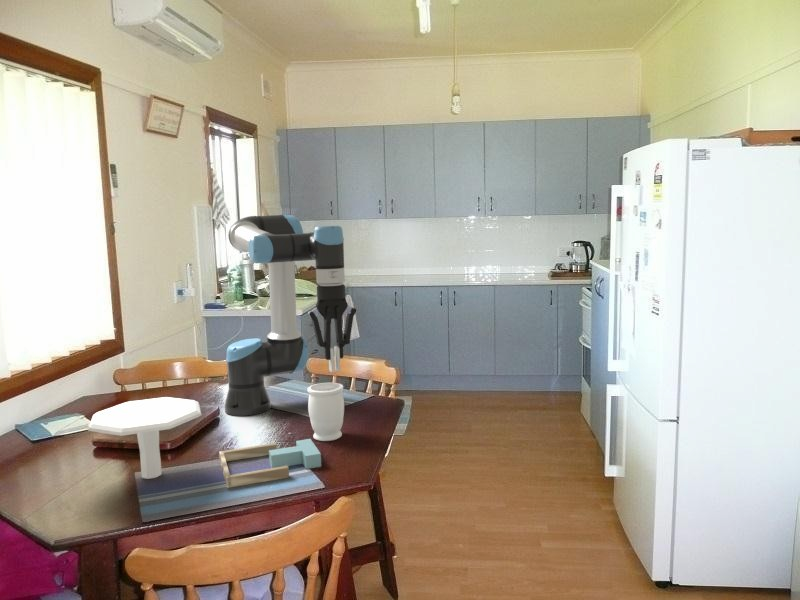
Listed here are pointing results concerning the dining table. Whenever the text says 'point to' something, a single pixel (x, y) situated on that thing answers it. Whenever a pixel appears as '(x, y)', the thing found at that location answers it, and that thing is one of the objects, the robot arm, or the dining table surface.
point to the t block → (296, 455)
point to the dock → (254, 475)
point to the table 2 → (146, 425)
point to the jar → (326, 410)
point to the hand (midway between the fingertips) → (334, 370)
